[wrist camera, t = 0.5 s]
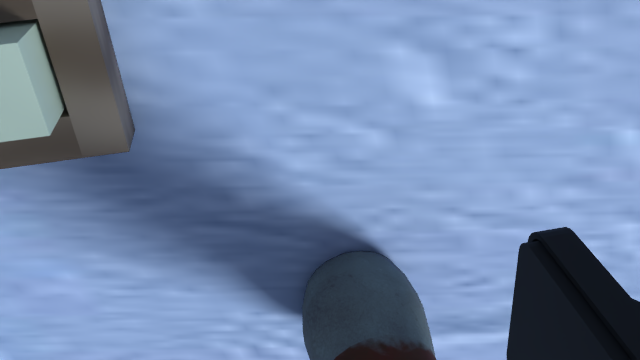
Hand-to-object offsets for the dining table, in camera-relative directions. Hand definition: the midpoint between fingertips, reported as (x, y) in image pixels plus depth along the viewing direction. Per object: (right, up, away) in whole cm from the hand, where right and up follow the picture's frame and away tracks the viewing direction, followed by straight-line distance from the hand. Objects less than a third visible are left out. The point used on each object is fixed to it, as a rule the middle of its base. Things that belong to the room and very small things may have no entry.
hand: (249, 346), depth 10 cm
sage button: (-16, +9, +23) cm, 30 cm away
